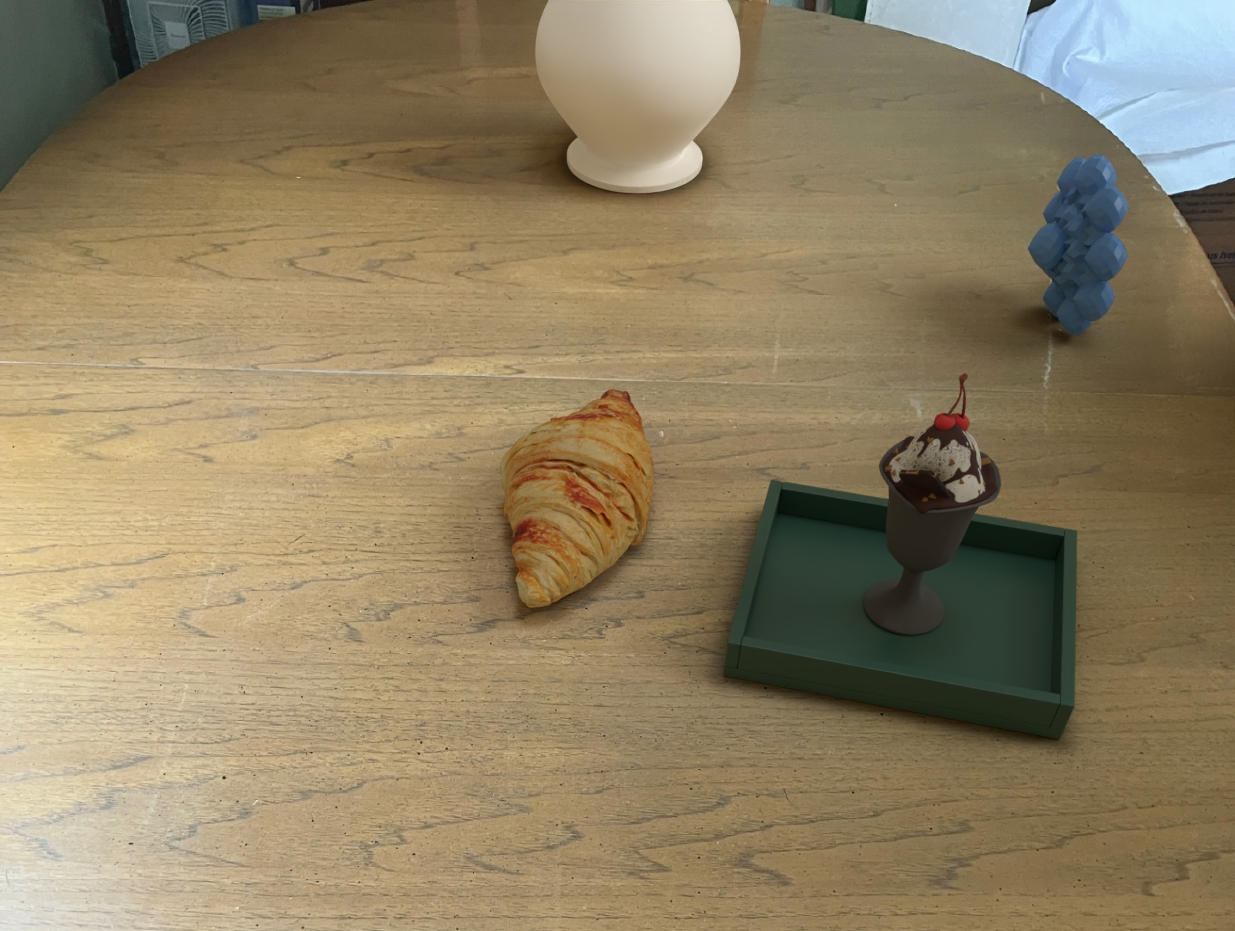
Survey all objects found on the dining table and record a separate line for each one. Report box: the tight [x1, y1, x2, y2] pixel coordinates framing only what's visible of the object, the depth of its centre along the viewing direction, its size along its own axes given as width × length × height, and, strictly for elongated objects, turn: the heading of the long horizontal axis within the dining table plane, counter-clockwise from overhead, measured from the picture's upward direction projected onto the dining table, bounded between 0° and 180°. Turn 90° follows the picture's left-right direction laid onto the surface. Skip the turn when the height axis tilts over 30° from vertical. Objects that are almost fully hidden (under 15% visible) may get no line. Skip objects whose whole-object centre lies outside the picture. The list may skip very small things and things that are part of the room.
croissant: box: [499, 388, 656, 609], centre depth 80 cm, size 21×10×8 cm, turn 166°
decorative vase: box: [534, 0, 741, 194], centre depth 104 cm, size 18×18×25 cm
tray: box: [722, 479, 1078, 740], centre depth 75 cm, size 20×16×3 cm
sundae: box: [864, 372, 1002, 635], centre depth 70 cm, size 7×7×15 cm
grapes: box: [1027, 153, 1130, 336], centre depth 94 cm, size 12×7×12 cm, turn 7°
